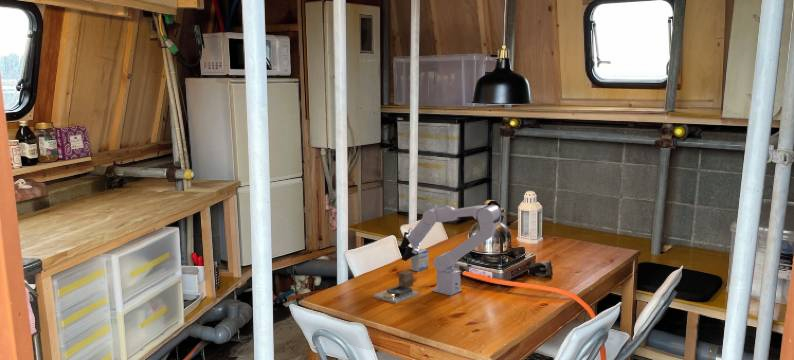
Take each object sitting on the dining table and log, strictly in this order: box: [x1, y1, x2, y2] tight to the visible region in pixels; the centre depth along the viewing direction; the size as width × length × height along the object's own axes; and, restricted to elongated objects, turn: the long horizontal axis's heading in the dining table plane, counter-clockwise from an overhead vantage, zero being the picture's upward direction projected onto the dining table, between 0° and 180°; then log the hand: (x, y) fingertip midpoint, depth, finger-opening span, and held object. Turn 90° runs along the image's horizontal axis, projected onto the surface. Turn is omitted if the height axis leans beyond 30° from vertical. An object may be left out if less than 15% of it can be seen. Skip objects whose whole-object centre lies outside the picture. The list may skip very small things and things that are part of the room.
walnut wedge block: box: [398, 269, 414, 288], centre depth 258 cm, size 4×5×6 cm
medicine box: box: [410, 248, 429, 273], centre depth 282 cm, size 8×4×9 cm, turn 143°
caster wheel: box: [528, 259, 554, 278], centre depth 271 cm, size 7×11×10 cm
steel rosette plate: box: [373, 284, 420, 304], centre depth 246 cm, size 12×14×2 cm
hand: (402, 253), depth 260 cm, fingers open, 7 cm apart
